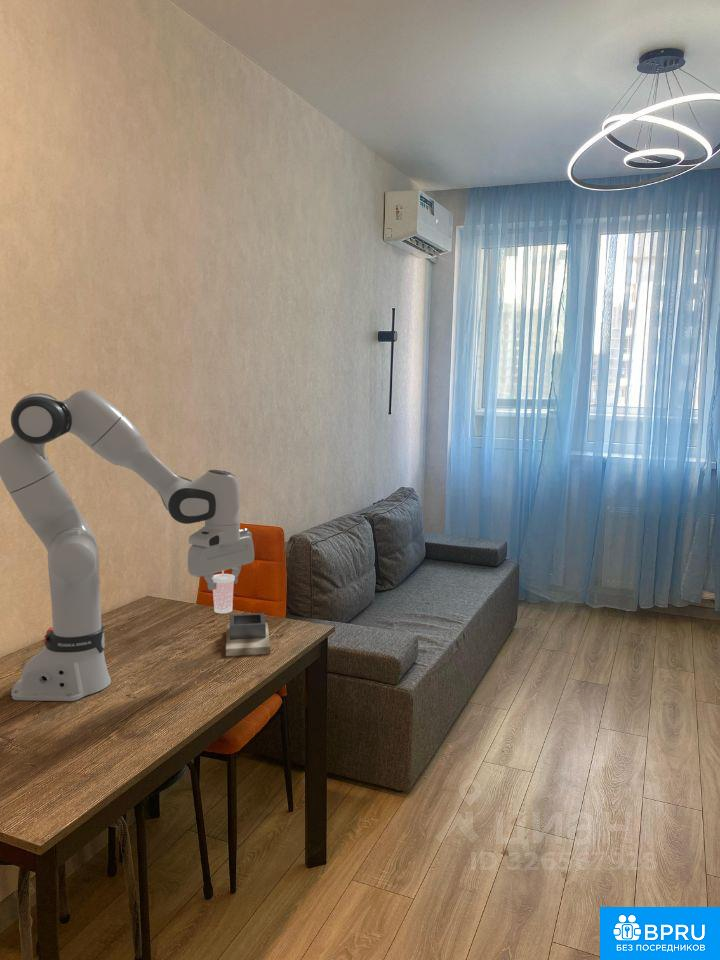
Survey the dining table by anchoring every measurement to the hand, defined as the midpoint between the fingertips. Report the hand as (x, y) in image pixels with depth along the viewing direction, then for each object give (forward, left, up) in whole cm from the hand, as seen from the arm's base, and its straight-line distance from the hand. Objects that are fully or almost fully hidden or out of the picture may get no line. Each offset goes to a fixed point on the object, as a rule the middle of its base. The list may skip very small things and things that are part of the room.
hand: (222, 586), depth 192 cm
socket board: (+6, +18, -22) cm, 29 cm away
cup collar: (+6, +20, -20) cm, 29 cm away
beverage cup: (0, 0, -7) cm, 7 cm away
